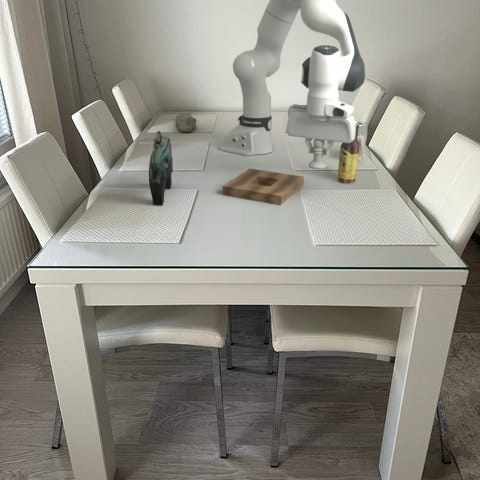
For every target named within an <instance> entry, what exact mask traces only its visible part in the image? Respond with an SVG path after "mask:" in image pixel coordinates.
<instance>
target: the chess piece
mask: <svg viewBox="0 0 480 480" xmlns="http://www.w3.org/2000/svg"><path fill="white" fill-rule="evenodd" d="M313 146H314V148H313V153H312V154H313V160H312V161H310V162H309V163H308V167H309V168H311V169H314V170H323V169H325V168H326V167H327V164H326V162H324V161H323V156H324V155H323V149H324V148H325V147H324V146H325V140H318V139H313Z"/></svg>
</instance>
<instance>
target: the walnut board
mask: <svg viewBox="0 0 480 480" xmlns="http://www.w3.org/2000/svg"><path fill="white" fill-rule="evenodd" d="M304 179H305V175H304V176H303V175H297V174H290V173H282V172H275V171H269V170H263V169H254V168H248V169H247V170H244V171H243V172H242V173H241V174H239V175H237V176H236V177H234V178H233V179H231V180H229V181H228V182H227V183H225V184H223V185H222V190H221V193H222V196H225V197H226V196H227V197H232V198H238V199H244V200H249V201H254V202H261V203H266V204H267V203H268V204H272V205H278V206H282V205H283V204H284V203H285V202H286V201H288V199H289V198H291V197H292V196H293V195H294V194H295V193H296V192H298V191H299V190H300V189H301V188H302V187H303V186H304Z"/></svg>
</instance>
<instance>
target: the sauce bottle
mask: <svg viewBox="0 0 480 480" xmlns="http://www.w3.org/2000/svg"><path fill="white" fill-rule="evenodd" d="M355 125H356V131H355V139H354V140H353V141H352V142H351V143H342V142H341V145H340V150H339V159H338V170H337V181H338V182H340V183H342V184H353V183H355V182H356V180H357V174H358V166H359V165H358V159H359V148H360V143H359V140H358V139H357V136H358V135H357V134H358V129H359V123H356V122H355Z"/></svg>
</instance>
